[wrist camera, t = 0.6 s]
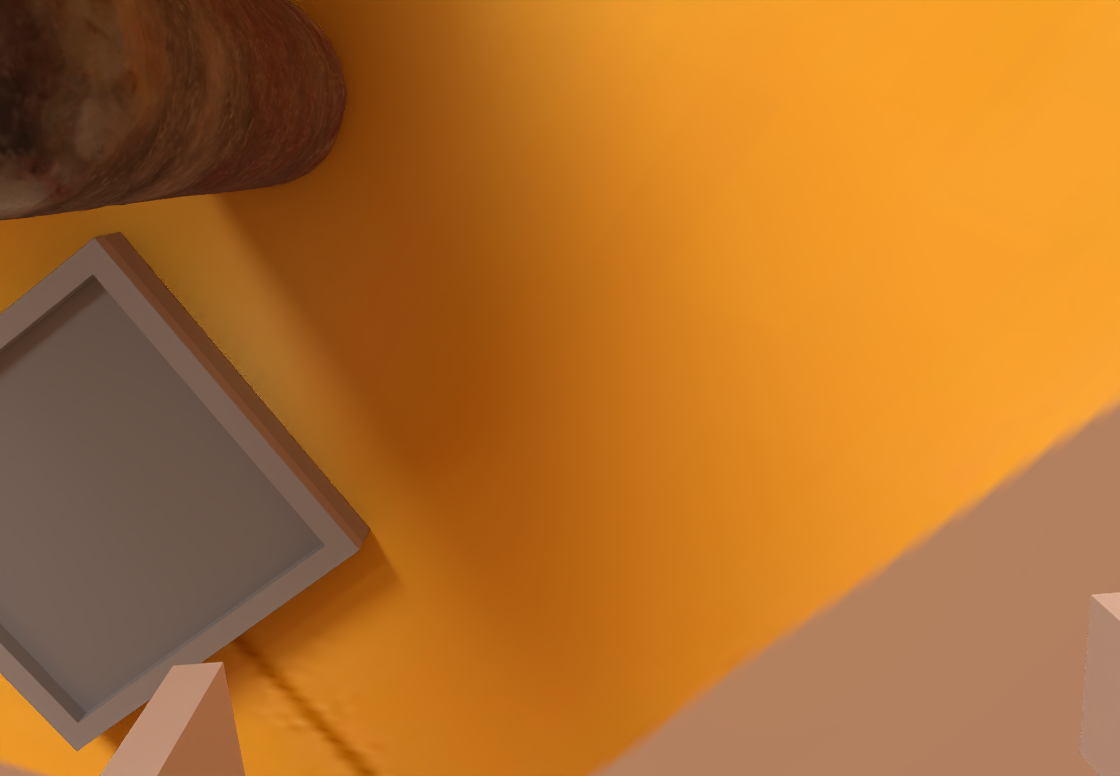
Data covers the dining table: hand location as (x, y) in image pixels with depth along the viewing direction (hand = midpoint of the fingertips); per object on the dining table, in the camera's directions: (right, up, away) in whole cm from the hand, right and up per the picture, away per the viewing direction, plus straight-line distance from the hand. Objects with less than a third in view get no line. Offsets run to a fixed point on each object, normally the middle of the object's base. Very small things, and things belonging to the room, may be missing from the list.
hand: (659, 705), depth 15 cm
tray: (-21, 0, +28) cm, 35 cm away
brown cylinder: (-13, +17, +24) cm, 32 cm away
